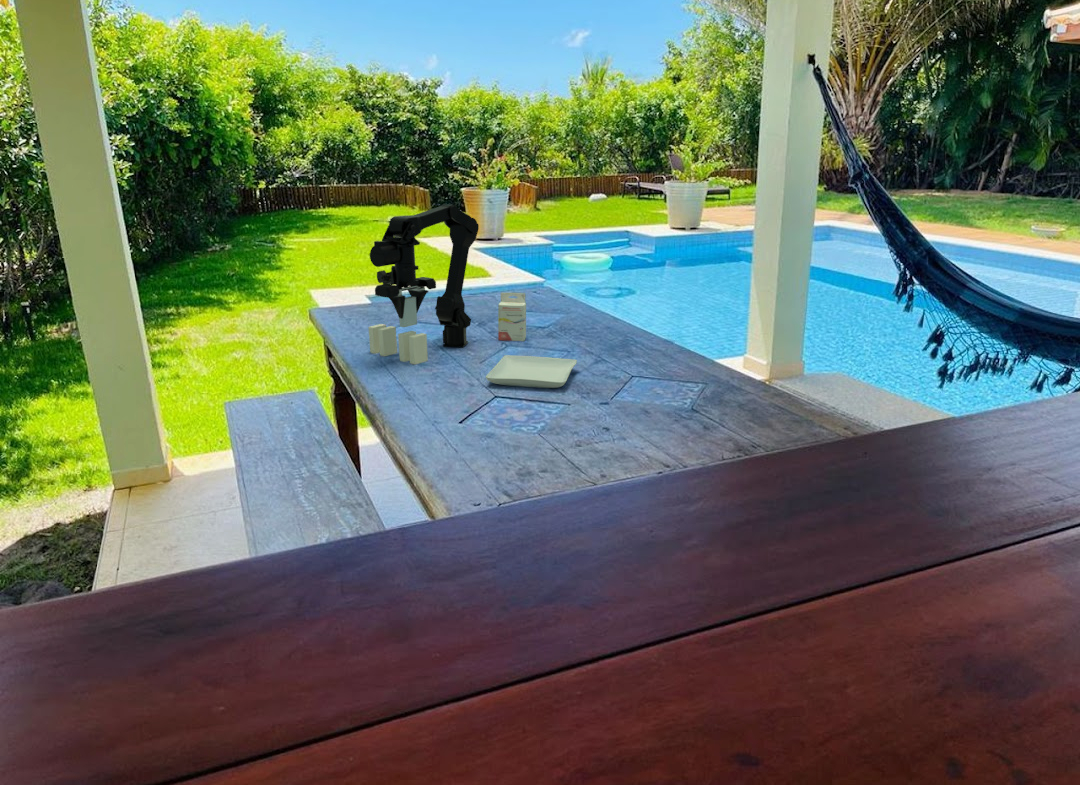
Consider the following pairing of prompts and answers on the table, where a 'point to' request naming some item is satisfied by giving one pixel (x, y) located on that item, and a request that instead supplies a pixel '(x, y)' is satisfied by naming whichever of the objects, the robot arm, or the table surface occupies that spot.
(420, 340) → the domino
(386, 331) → the domino
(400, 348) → the domino
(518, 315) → the ink cartridge box
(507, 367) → the salad plate
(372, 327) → the domino
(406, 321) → the domino
